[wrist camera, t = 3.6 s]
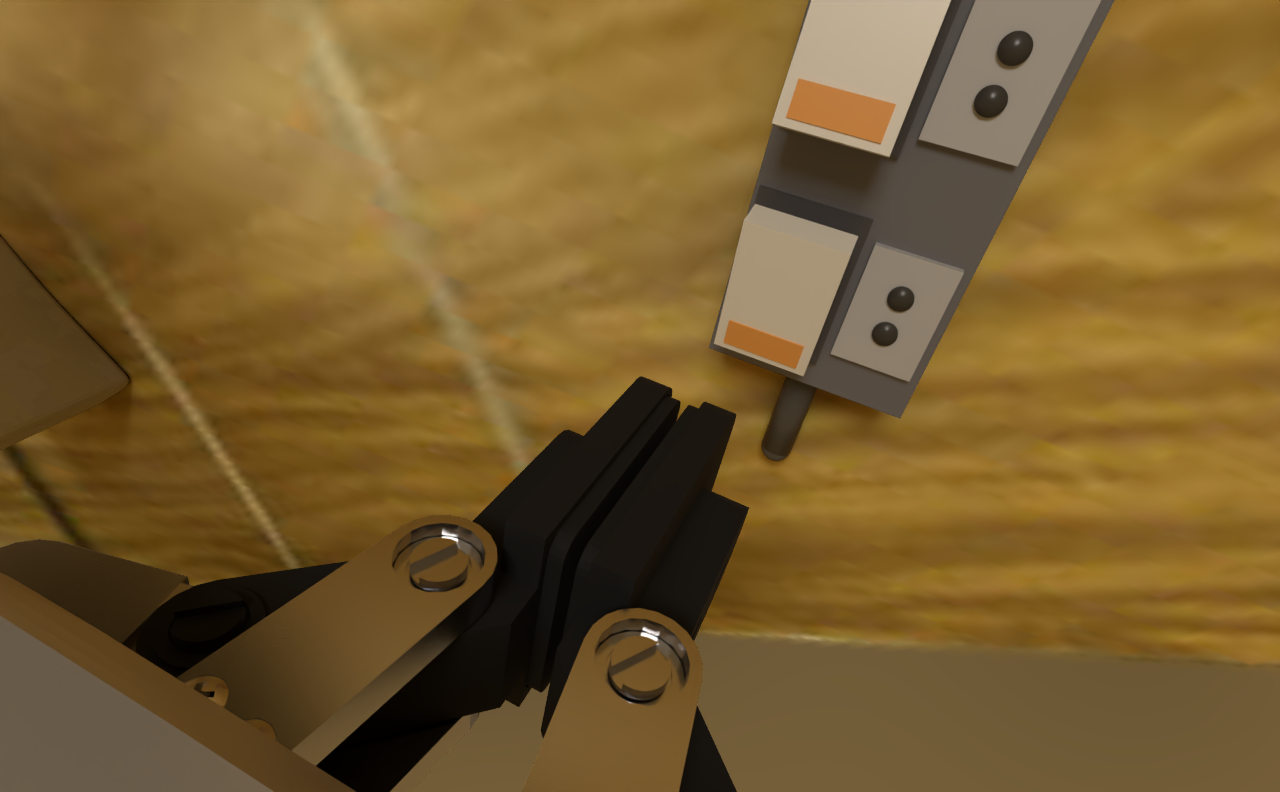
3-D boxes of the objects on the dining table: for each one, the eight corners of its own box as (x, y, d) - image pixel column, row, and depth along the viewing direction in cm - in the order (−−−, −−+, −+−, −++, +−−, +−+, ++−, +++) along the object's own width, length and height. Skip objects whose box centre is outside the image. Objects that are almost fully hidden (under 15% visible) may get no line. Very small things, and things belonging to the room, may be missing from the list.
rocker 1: (755, 203, 25) (743, 221, 24) (858, 236, 24) (850, 255, 23) (724, 325, 30) (713, 344, 29) (811, 356, 29) (802, 377, 28)
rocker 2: (841, -69, 21) (838, -85, 20) (967, -42, 21) (973, -57, 19) (777, 126, 24) (771, 123, 22) (888, 158, 23) (889, 156, 21)
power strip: (862, -115, 25) (845, -138, 21) (1122, -64, 23) (1158, -79, 19) (702, 416, 38) (673, 463, 34) (854, 476, 37) (843, 534, 33)
